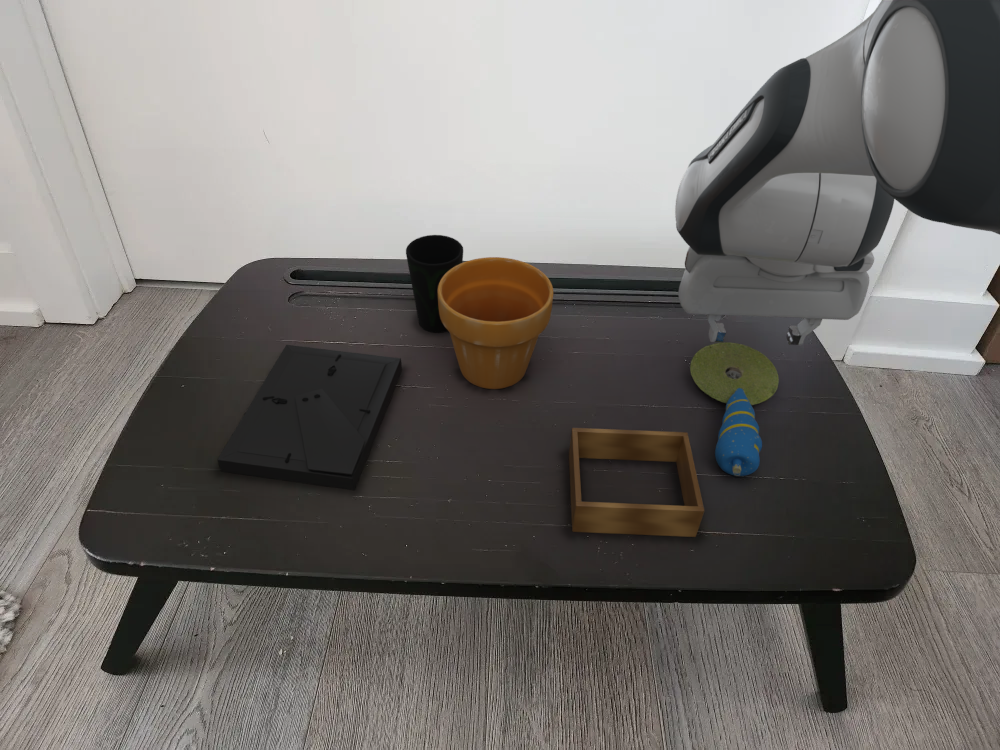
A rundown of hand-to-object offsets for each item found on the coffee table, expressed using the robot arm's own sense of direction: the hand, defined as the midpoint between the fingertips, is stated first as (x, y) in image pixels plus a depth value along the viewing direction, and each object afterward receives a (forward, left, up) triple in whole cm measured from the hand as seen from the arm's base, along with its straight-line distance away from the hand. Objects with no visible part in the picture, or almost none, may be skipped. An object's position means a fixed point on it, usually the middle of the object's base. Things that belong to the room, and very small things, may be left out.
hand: (754, 340), depth 87 cm
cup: (+37, +21, -10) cm, 43 cm away
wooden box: (-2, +23, -9) cm, 25 cm away
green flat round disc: (+2, -2, -10) cm, 10 cm away
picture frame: (+30, +44, -10) cm, 54 cm away
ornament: (0, +1, -7) cm, 7 cm away
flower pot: (+24, +21, -10) cm, 33 cm away
